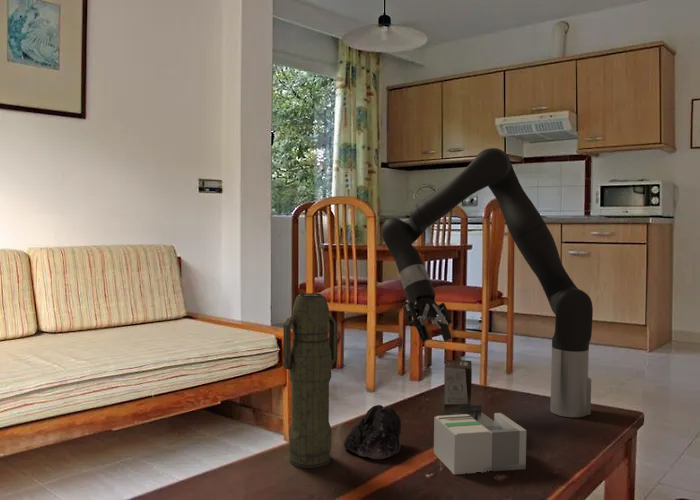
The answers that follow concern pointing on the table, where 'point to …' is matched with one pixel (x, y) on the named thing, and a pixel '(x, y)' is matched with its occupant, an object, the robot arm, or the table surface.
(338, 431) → the table surface
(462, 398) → the coffee box
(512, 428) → the gauge housing
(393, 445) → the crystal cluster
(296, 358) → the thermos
